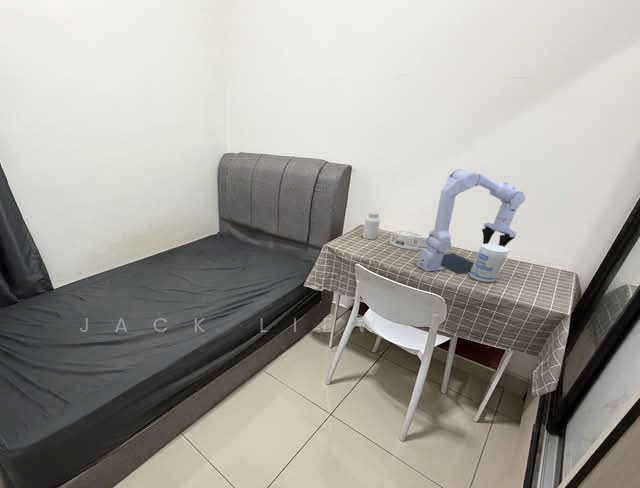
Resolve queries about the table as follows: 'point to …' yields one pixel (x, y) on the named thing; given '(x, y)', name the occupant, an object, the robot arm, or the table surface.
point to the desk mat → (456, 263)
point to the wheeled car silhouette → (405, 237)
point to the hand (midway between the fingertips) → (492, 246)
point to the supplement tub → (488, 262)
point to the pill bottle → (371, 226)
